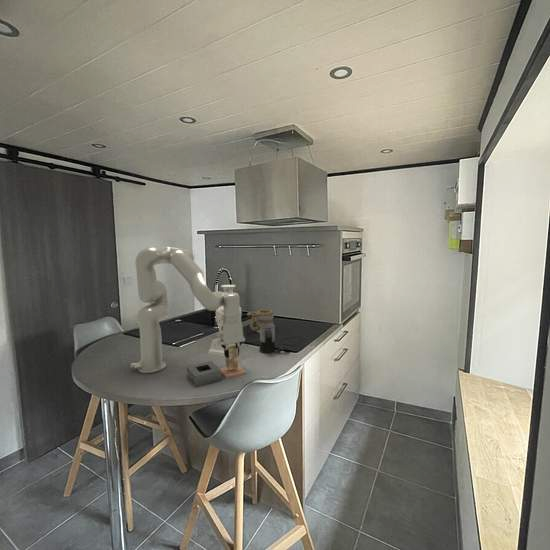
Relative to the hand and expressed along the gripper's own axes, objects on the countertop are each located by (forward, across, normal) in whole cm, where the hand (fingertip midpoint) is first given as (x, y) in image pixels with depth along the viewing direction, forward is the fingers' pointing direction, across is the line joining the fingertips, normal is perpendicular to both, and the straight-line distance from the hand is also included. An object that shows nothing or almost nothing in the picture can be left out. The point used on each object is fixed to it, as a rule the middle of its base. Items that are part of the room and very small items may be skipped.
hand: (231, 355), depth 144 cm
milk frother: (+8, +32, +13) cm, 36 cm away
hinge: (+9, +6, +24) cm, 26 cm away
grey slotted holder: (+8, -14, 0) cm, 16 cm away
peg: (+6, 0, 0) cm, 6 cm away
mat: (+8, 0, 0) cm, 8 cm away
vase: (+8, +17, +43) cm, 47 cm away
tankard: (+8, +43, +49) cm, 66 cm away
